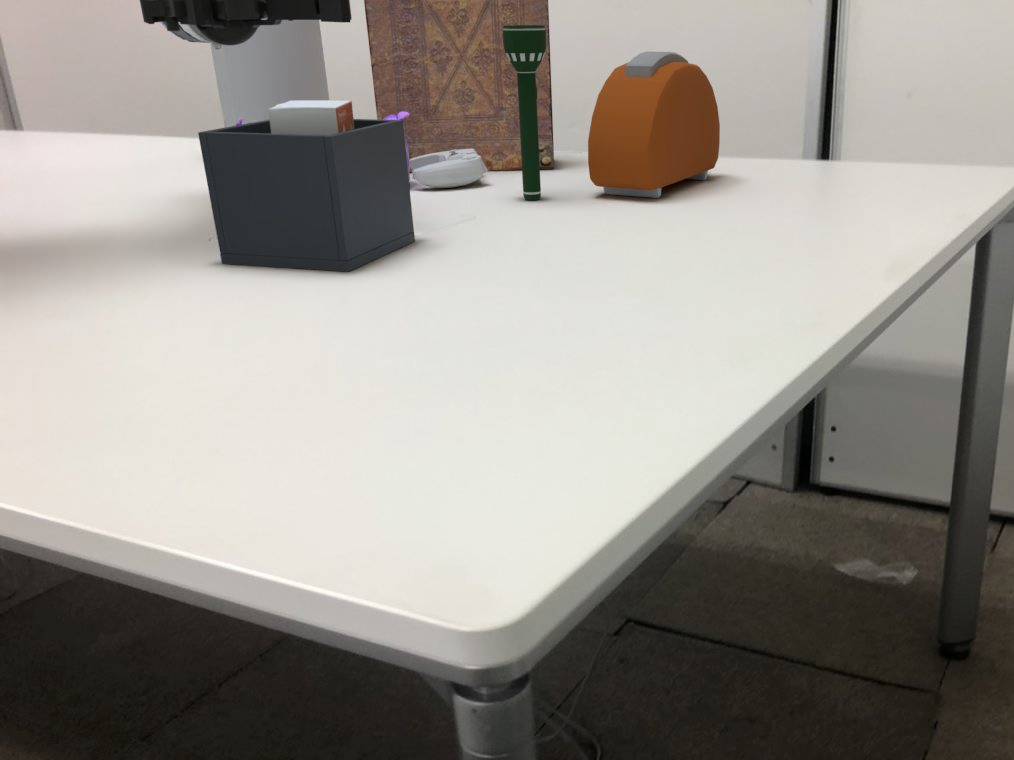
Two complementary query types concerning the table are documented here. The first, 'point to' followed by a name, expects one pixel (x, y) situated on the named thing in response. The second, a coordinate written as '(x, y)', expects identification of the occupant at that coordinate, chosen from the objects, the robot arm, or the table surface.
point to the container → (270, 70)
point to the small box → (311, 117)
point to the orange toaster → (653, 126)
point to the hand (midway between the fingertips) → (274, 7)
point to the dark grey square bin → (308, 195)
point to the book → (457, 76)
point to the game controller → (448, 168)
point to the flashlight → (527, 96)
